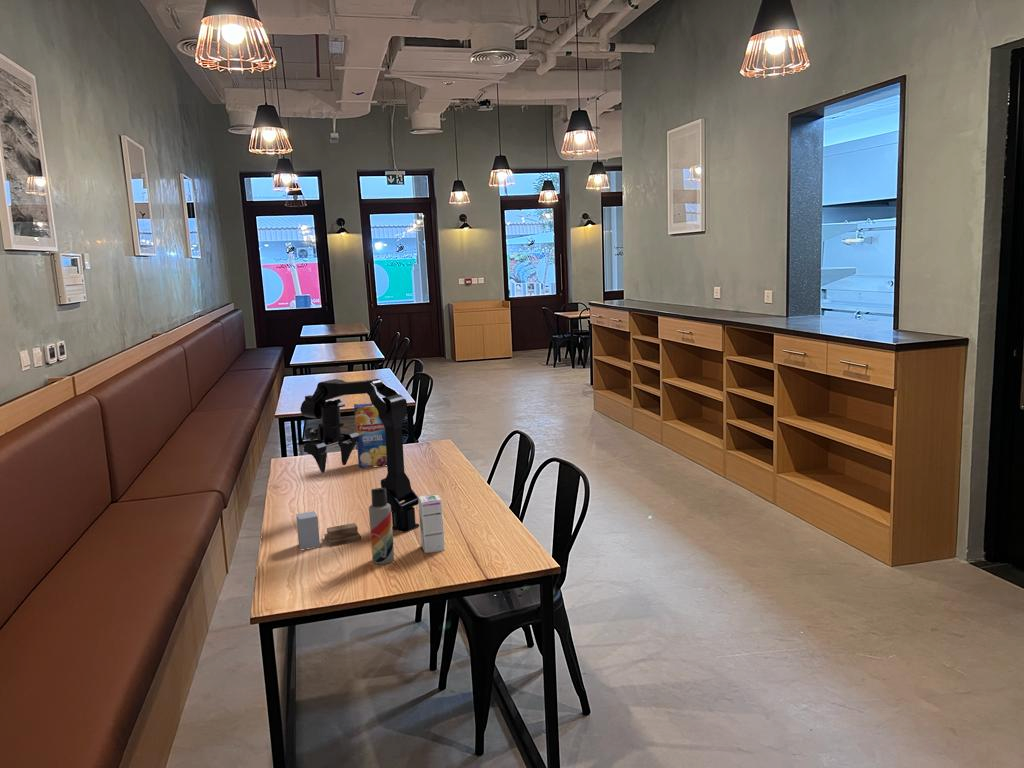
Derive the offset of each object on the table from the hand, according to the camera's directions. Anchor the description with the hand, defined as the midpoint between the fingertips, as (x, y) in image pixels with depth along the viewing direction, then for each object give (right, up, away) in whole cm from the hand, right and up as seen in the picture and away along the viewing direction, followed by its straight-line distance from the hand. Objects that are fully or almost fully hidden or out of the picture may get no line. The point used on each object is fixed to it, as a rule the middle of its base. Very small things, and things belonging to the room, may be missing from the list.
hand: (333, 468), depth 234 cm
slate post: (-1, -19, -23) cm, 30 cm away
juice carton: (+2, -5, +59) cm, 59 cm away
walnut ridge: (+7, -18, -20) cm, 28 cm away
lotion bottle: (+22, -20, -36) cm, 47 cm away
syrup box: (+34, -19, -29) cm, 48 cm away
